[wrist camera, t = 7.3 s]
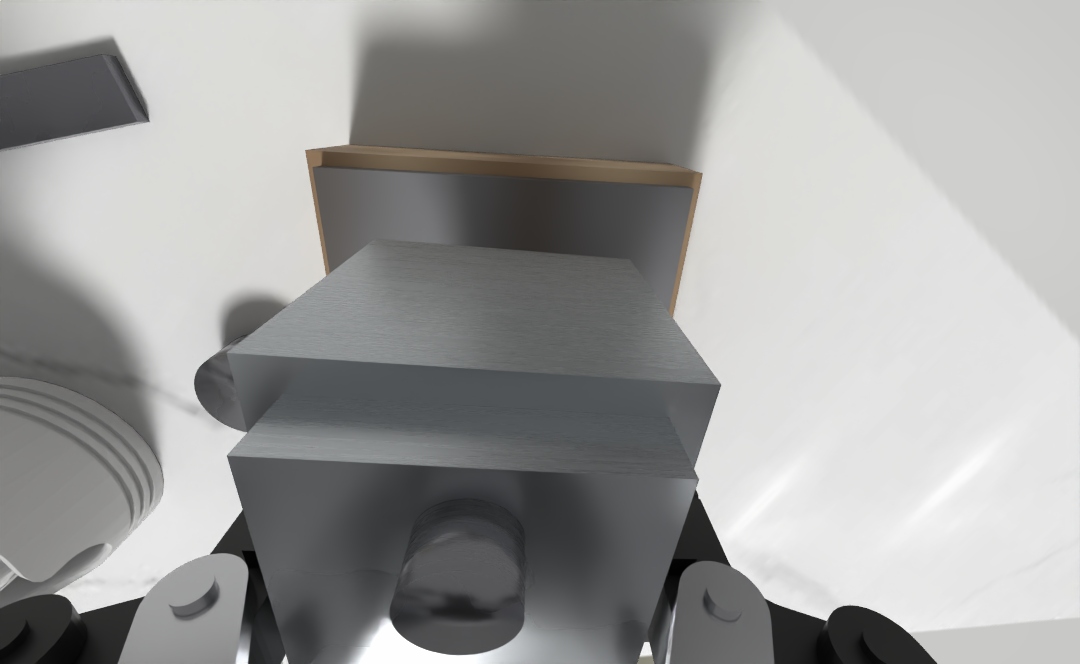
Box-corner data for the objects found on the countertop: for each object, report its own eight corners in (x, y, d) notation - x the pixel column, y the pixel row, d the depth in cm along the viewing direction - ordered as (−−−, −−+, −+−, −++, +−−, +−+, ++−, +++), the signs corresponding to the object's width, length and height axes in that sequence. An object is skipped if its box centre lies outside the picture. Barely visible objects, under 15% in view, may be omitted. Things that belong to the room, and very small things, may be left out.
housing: (375, 238, 9) (65, 476, 3) (630, 259, 9) (814, 512, 3) (398, 531, 13) (283, 892, 7) (577, 539, 13) (618, 890, 7)
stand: (382, 412, 21) (352, 471, 17) (348, 144, 16) (295, 151, 12) (625, 419, 22) (644, 478, 18) (670, 163, 16) (710, 175, 13)
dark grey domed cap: (237, 405, 21) (210, 432, 19) (213, 331, 19) (181, 352, 17) (321, 407, 21) (302, 433, 19) (305, 334, 19) (282, 355, 17)
